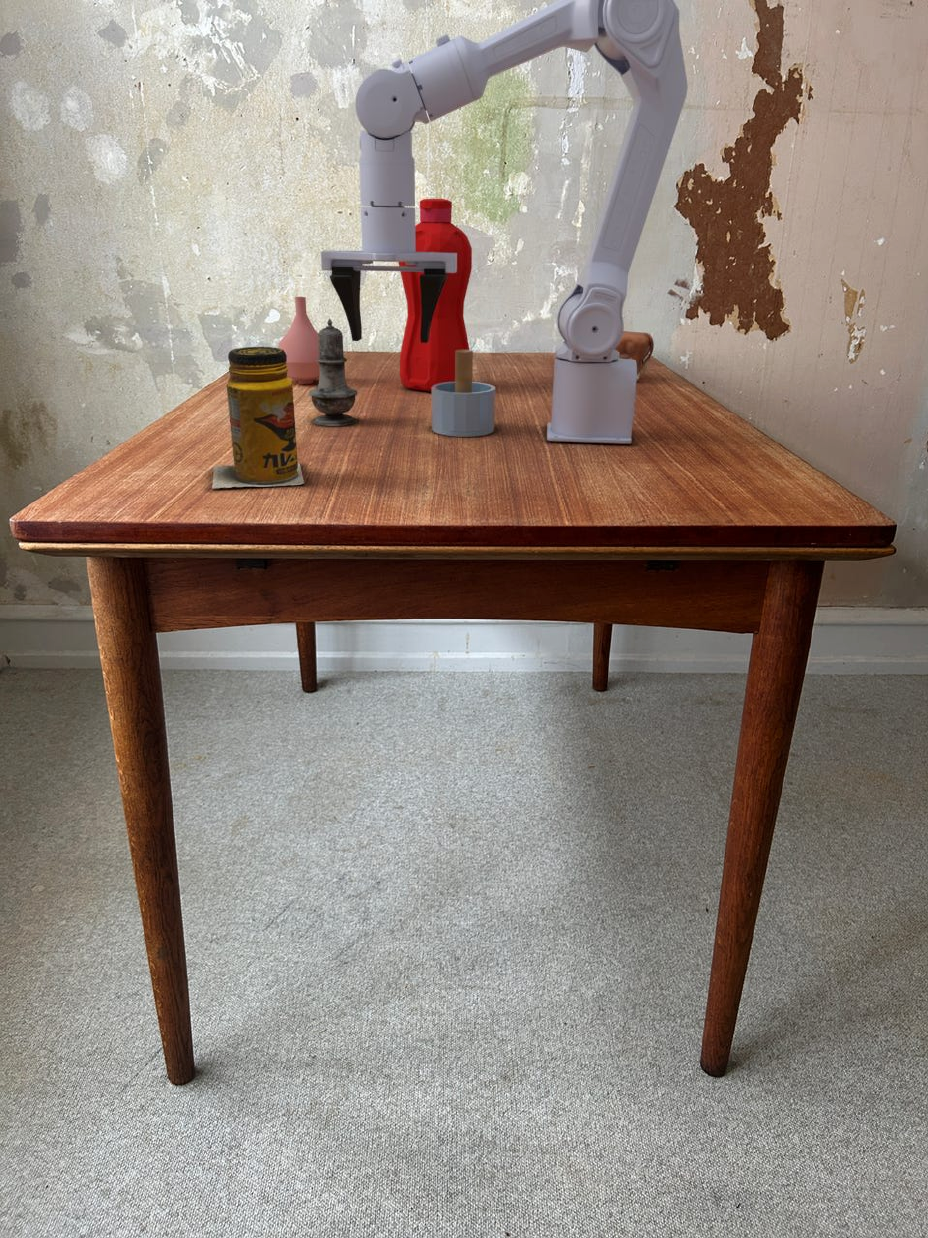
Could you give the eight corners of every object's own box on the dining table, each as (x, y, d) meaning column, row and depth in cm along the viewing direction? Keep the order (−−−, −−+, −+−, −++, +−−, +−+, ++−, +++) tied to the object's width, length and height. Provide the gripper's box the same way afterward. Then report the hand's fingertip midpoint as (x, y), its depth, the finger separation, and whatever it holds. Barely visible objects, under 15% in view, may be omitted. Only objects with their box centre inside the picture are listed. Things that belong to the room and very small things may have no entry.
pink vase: (305, 375, 137) (300, 293, 132) (342, 381, 133) (338, 296, 128) (268, 382, 131) (261, 297, 126) (304, 389, 127) (299, 300, 122)
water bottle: (484, 384, 133) (489, 199, 122) (444, 395, 124) (445, 198, 114) (433, 377, 137) (433, 198, 127) (391, 388, 129) (387, 197, 118)
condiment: (304, 485, 84) (296, 354, 79) (212, 490, 82) (197, 356, 77) (299, 465, 91) (291, 343, 86) (214, 469, 89) (200, 344, 84)
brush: (476, 422, 107) (478, 349, 103) (474, 427, 104) (476, 353, 101) (451, 421, 107) (452, 348, 104) (449, 426, 105) (449, 352, 101)
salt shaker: (350, 428, 106) (345, 322, 101) (303, 425, 107) (296, 320, 102) (364, 417, 111) (361, 316, 106) (320, 415, 112) (314, 315, 107)
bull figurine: (588, 369, 146) (592, 317, 143) (655, 381, 137) (661, 325, 134) (571, 372, 143) (574, 319, 140) (638, 384, 135) (643, 328, 131)
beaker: (495, 423, 109) (496, 382, 107) (492, 438, 102) (493, 394, 100) (435, 421, 110) (435, 380, 107) (428, 435, 103) (428, 392, 101)
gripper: (311, 205, 91) (318, 343, 96) (452, 207, 90) (451, 347, 95) (326, 205, 97) (333, 335, 103) (459, 207, 96) (457, 338, 102)
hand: (390, 340), depth 99 cm, fingers open, 7 cm apart
